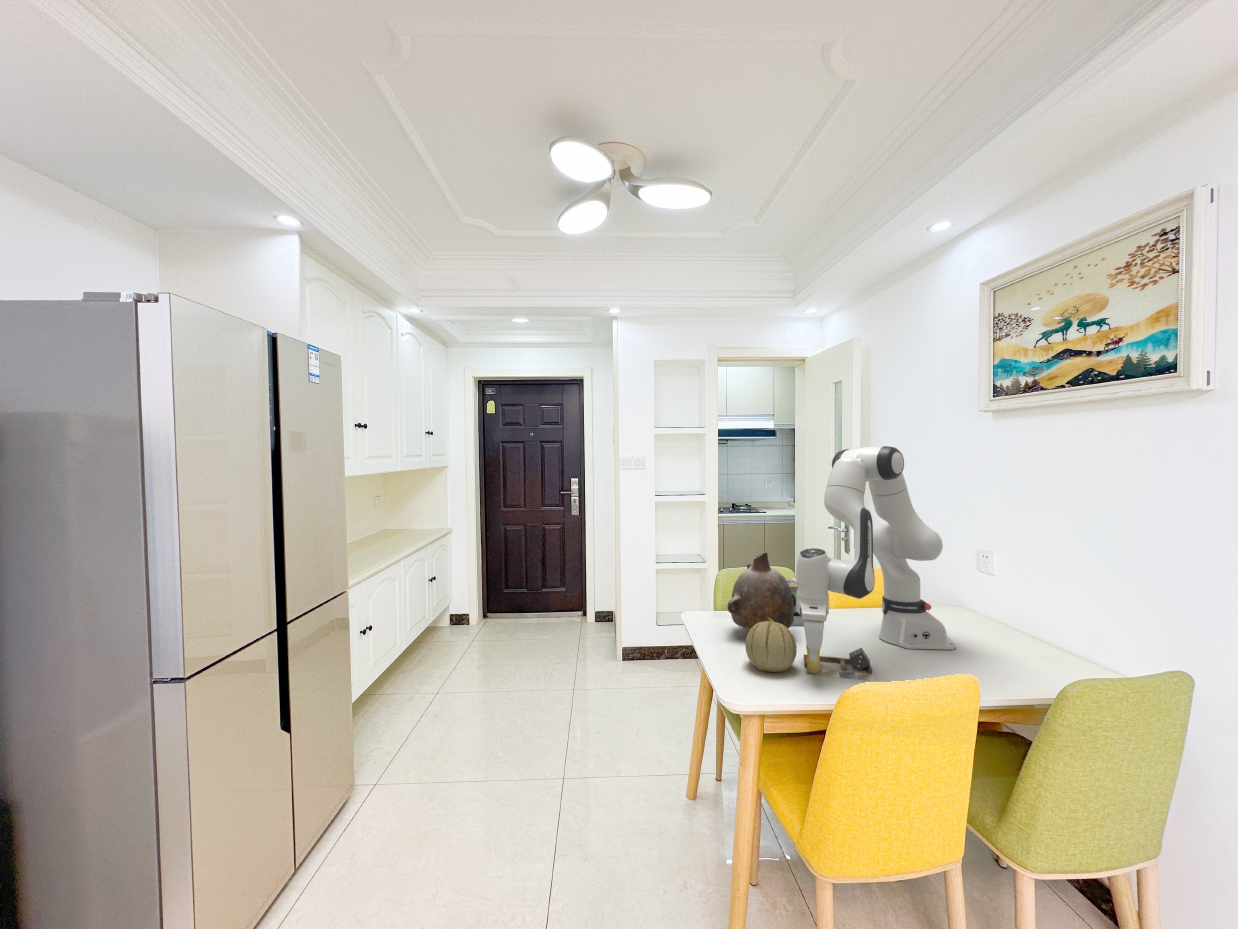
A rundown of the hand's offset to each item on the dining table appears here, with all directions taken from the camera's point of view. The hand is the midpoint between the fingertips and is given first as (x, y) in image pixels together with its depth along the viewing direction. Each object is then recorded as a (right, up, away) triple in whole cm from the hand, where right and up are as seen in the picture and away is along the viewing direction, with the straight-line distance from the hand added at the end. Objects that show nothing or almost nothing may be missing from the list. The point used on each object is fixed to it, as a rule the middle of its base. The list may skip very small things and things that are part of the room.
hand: (812, 654), depth 154 cm
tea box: (+12, -6, +53) cm, 54 cm away
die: (+13, -3, +3) cm, 14 cm away
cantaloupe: (-11, -6, +4) cm, 13 cm away
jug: (-5, -6, +35) cm, 36 cm away
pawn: (+1, -5, 0) cm, 5 cm away
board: (+8, -6, +2) cm, 10 cm away
